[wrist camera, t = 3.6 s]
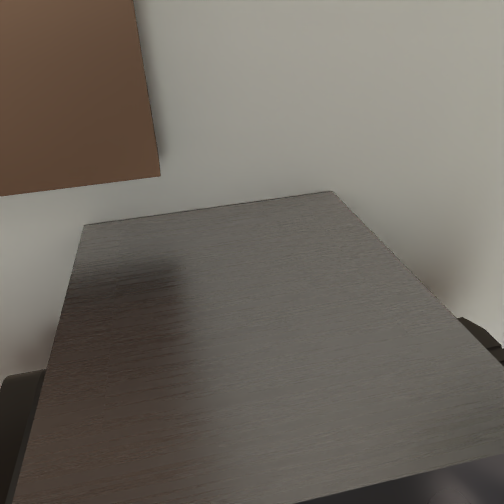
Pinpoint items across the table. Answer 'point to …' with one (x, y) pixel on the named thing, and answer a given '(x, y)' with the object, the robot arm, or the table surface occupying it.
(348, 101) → the table surface
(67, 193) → the table surface
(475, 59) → the table surface
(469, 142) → the table surface
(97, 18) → the pin plate
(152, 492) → the block
